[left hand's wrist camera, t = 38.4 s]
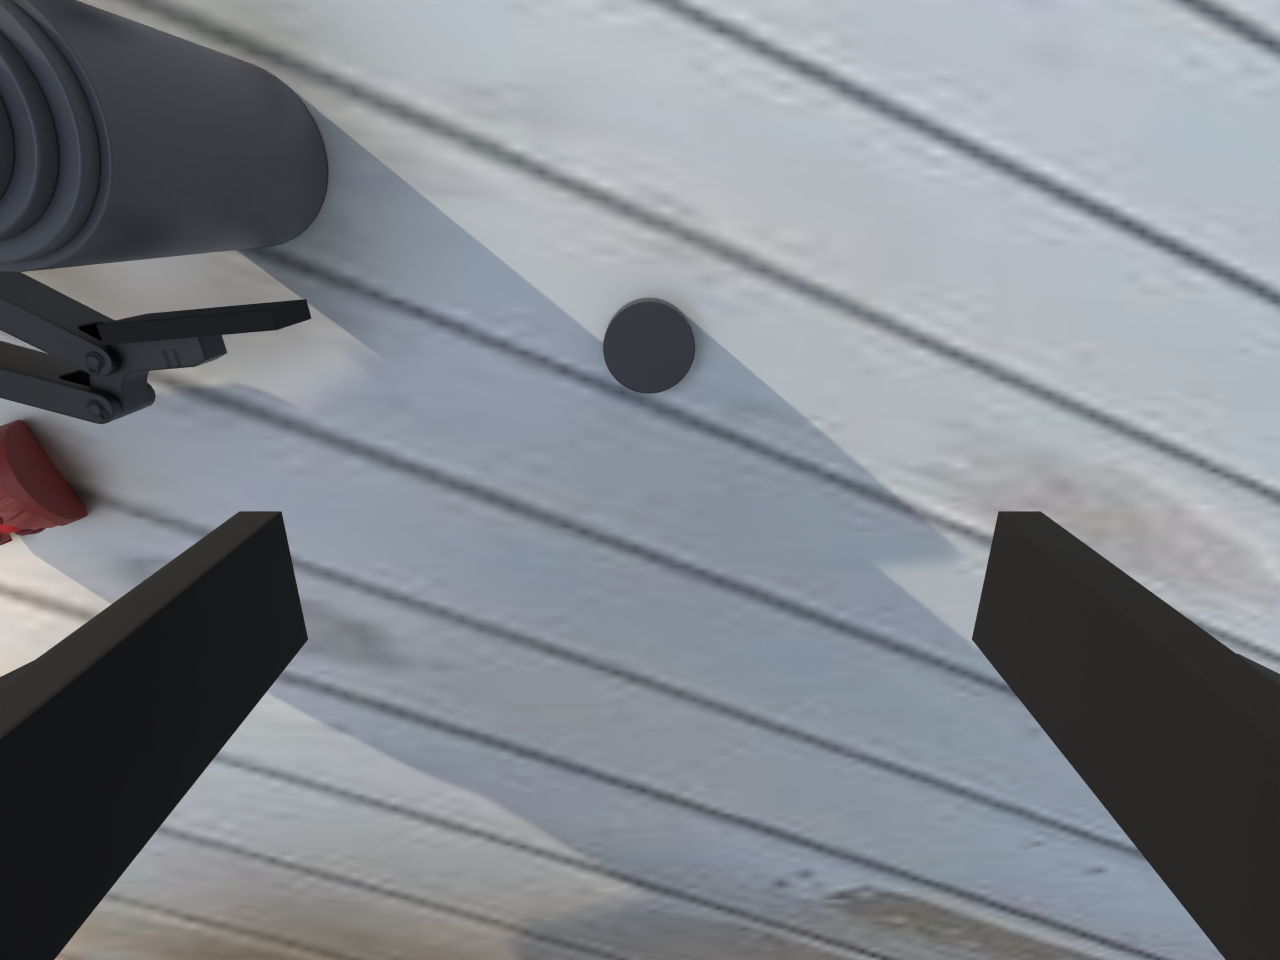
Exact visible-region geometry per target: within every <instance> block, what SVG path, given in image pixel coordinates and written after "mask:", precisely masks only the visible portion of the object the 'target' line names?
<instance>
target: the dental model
mask: <svg viewBox="0 0 1280 960" xmlns="http://www.w3.org/2000/svg"><path fill="white" fill-rule="evenodd" d="M87 515H88V513H87V511H86V509H85V508H84V507H83V505H82V504H81V502H80V501H79V499H78V498H77V497H76V495H75V494H74V492H73V491H72V489H71V488H70V487H69V485H68V484H67V482H66V481H65V479H64V478H63V477H62V475H61V474H60V472H59V471H58V469H57V468H56V467H55V465H54V464H53V462H52V461H51V460H50V458H49V457H48V455H47V454H46V453H45V451H44V450H43V449H42V447H41V446H40V444H39V443H38V442H37V440H36V439H35V437H34V436H33V435H32V433H31V432H30V431H29V429H28V428H27V426H26V425H25V424H24V422H23V421H22V420H17V421H14V422H11V423H8V424H6V425H3V426H0V545H2V544H5V543H7V542H10V541H12V539H11V536H10V535H9V533H12V532H15V533H16V534H17V535H28V534H36V533H39V532H41V531H43V530H44V529H45V528H52V527H55V526H58V525H60V526H64V525H67V524H69V523H72V522H74V521H77V520H79V519H82V518H84V517H86V516H87Z"/></svg>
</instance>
